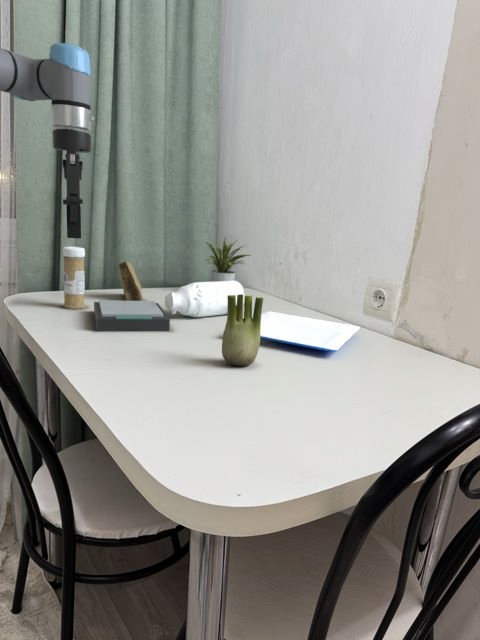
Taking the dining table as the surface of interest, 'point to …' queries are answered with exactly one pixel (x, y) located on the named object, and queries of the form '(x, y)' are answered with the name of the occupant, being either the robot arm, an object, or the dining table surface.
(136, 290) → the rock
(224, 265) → the house plant
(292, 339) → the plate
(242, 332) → the fennel bulb
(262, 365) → the dining table surface
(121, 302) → the scale
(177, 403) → the dining table surface
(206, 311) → the white bottle
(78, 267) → the sprinkles bottle
